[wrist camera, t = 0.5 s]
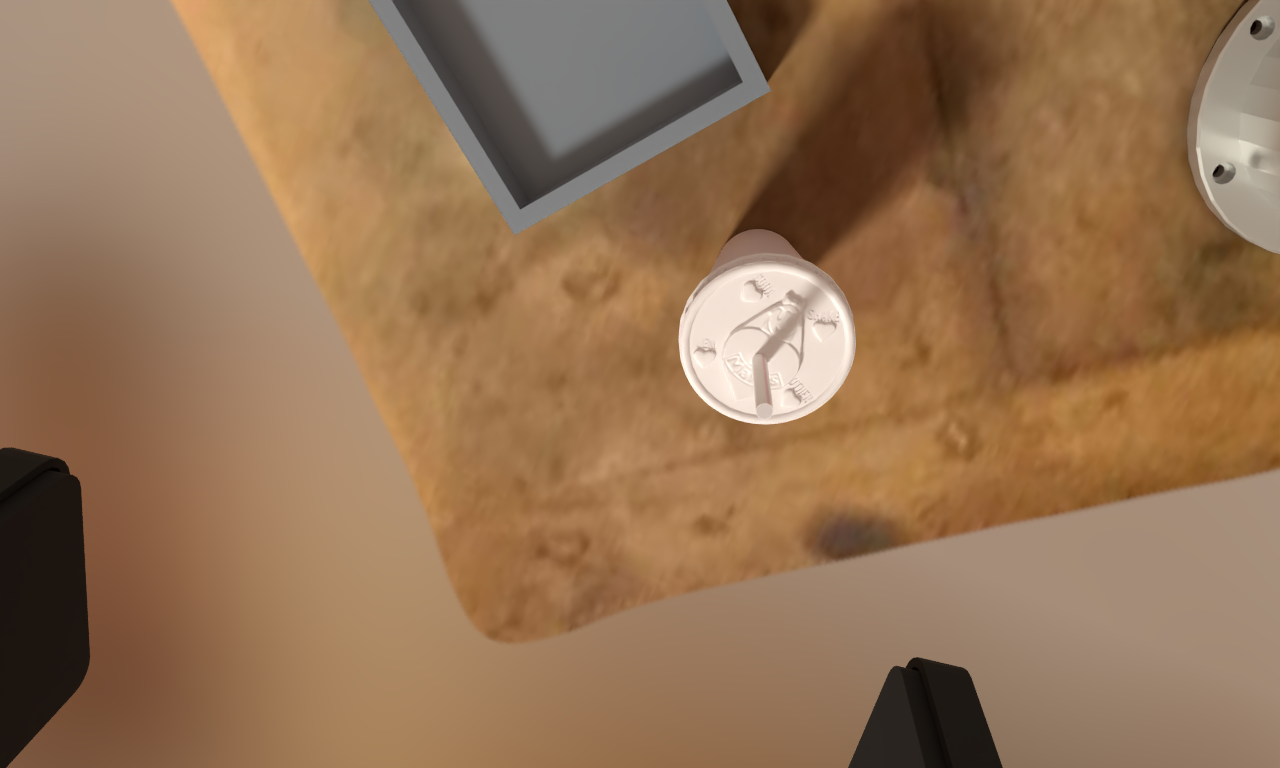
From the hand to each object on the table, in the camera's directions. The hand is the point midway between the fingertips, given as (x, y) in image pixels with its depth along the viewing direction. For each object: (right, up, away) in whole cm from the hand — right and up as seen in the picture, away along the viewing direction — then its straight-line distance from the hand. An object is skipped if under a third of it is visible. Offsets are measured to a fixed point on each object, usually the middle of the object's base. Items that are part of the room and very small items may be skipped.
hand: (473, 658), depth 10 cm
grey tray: (-2, +20, +27) cm, 33 cm away
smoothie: (+7, +8, +31) cm, 33 cm away
